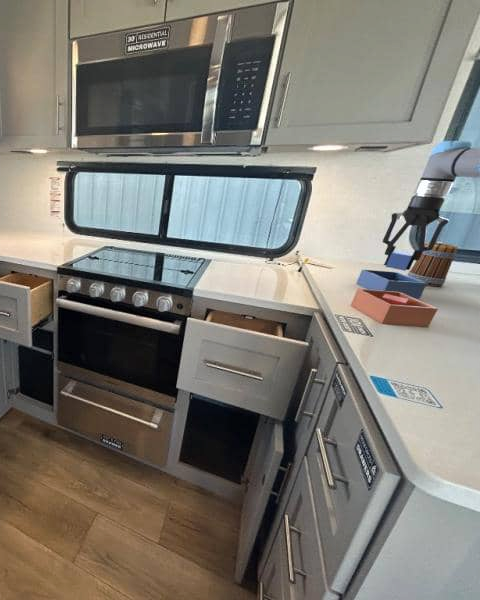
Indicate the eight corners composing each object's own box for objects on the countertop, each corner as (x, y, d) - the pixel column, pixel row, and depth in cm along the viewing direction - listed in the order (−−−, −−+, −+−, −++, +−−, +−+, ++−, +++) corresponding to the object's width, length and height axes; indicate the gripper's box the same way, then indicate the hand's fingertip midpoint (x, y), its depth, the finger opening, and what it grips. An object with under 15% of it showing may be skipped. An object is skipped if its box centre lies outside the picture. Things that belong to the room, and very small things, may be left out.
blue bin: (419, 298, 109) (427, 283, 107) (382, 296, 110) (388, 280, 108) (390, 286, 121) (396, 271, 119) (356, 283, 121) (361, 269, 119)
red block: (400, 315, 94) (408, 299, 92) (397, 319, 91) (405, 303, 89) (378, 308, 97) (385, 293, 95) (375, 313, 94) (382, 297, 92)
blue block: (407, 268, 112) (413, 254, 110) (405, 270, 109) (411, 256, 107) (388, 264, 115) (394, 250, 113) (385, 266, 112) (392, 252, 110)
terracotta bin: (428, 327, 88) (438, 308, 86) (381, 323, 89) (390, 305, 87) (391, 308, 100) (399, 291, 98) (350, 305, 100) (357, 288, 98)
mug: (443, 289, 121) (464, 249, 115) (405, 281, 127) (423, 243, 121) (440, 280, 132) (459, 243, 126) (405, 273, 138) (421, 238, 132)
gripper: (390, 192, 106) (361, 261, 116) (471, 199, 94) (432, 276, 104) (393, 192, 111) (365, 258, 120) (471, 199, 99) (434, 272, 108)
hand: (396, 266), depth 112 cm, fingers closed on blue block, 5 cm apart
